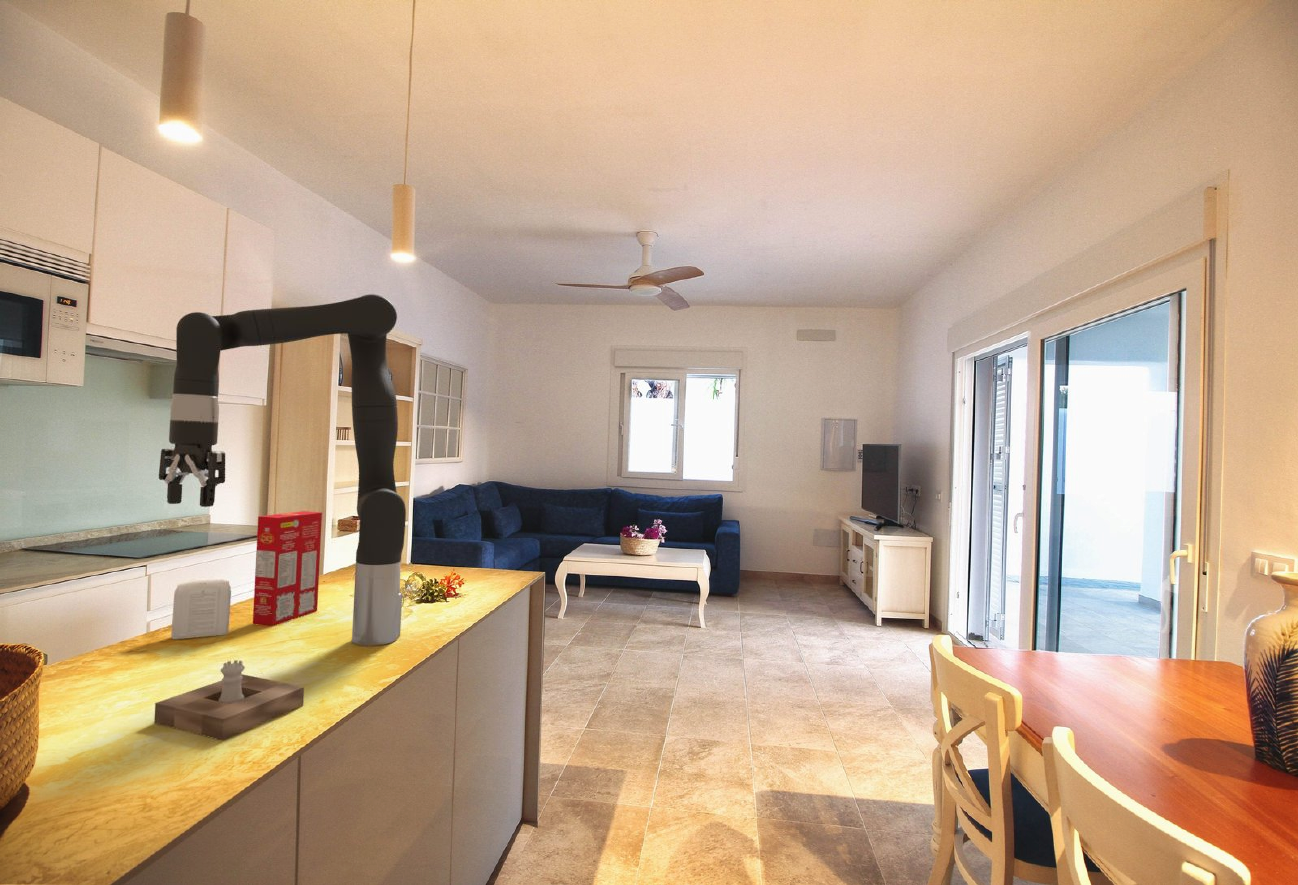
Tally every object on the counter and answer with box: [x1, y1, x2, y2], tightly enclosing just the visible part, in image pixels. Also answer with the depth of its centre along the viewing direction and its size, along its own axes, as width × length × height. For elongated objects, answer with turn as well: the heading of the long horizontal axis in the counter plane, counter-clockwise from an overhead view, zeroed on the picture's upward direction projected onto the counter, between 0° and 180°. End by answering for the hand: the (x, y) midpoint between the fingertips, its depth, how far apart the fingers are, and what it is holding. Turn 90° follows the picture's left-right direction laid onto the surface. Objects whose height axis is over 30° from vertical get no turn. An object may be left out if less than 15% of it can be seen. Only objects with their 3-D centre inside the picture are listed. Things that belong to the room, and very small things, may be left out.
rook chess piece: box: [218, 659, 246, 704], centre depth 102 cm, size 4×4×8 cm
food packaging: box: [252, 510, 323, 627], centre depth 157 cm, size 15×5×25 cm, turn 169°
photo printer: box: [170, 577, 232, 640], centre depth 140 cm, size 10×4×12 cm, turn 123°
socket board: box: [153, 673, 305, 741], centre depth 102 cm, size 14×14×3 cm
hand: (190, 505), depth 122 cm, fingers open, 8 cm apart
